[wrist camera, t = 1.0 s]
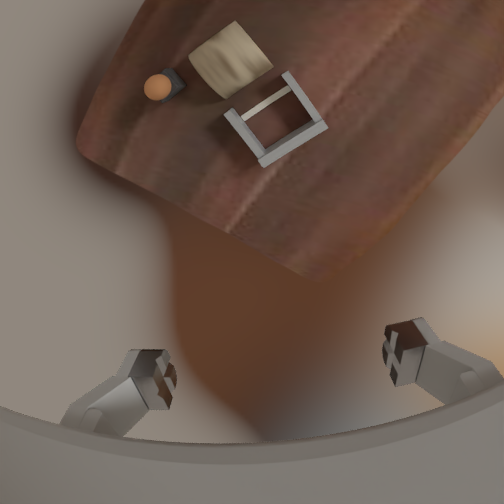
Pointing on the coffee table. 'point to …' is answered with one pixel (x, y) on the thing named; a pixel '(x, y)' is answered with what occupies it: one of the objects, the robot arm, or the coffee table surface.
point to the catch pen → (286, 142)
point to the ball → (157, 87)
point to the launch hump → (229, 60)
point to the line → (266, 102)
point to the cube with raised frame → (173, 83)
